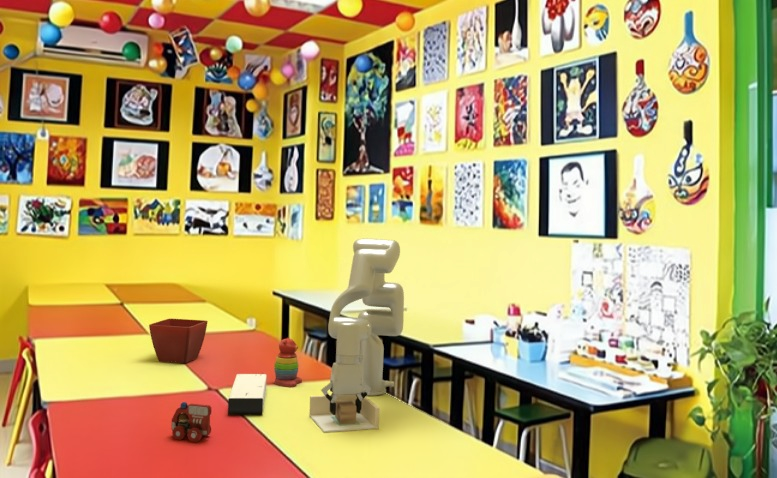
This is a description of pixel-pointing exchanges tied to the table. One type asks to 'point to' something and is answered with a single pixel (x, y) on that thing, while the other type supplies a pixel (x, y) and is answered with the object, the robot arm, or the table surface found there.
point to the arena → (329, 423)
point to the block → (345, 412)
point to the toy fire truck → (191, 421)
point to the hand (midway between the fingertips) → (345, 412)
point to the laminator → (247, 395)
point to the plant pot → (178, 339)
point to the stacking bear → (287, 364)
